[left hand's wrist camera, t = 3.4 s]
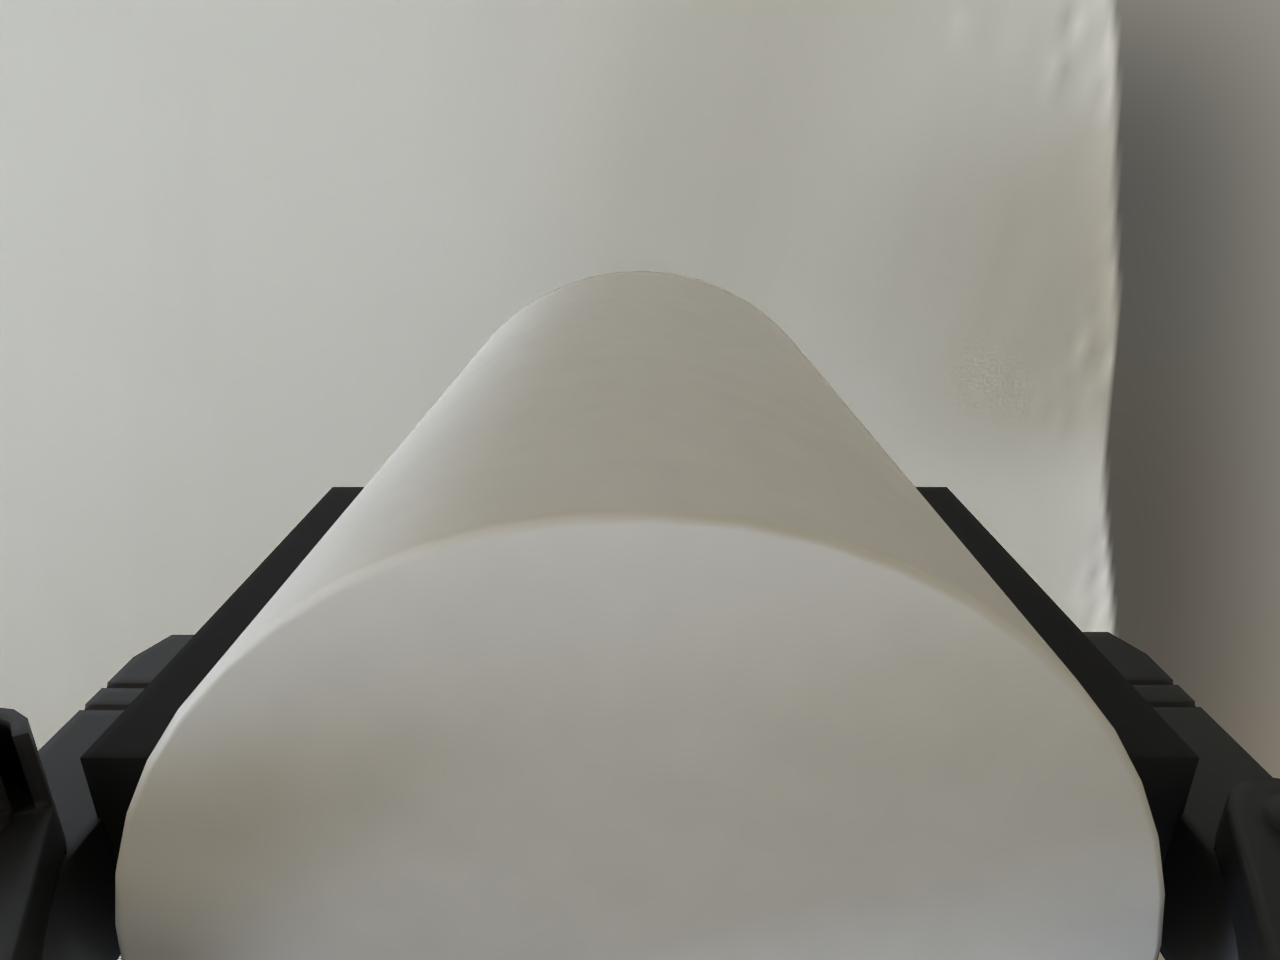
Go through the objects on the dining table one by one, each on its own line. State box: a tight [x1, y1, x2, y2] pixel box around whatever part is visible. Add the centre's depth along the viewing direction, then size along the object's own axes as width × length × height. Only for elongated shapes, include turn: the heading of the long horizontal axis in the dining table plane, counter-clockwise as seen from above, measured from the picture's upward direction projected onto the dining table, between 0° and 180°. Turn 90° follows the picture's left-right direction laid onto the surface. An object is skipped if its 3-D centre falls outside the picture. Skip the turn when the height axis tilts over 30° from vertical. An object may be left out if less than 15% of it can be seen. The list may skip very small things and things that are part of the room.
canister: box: [115, 271, 1165, 960], centre depth 12 cm, size 8×8×12 cm
